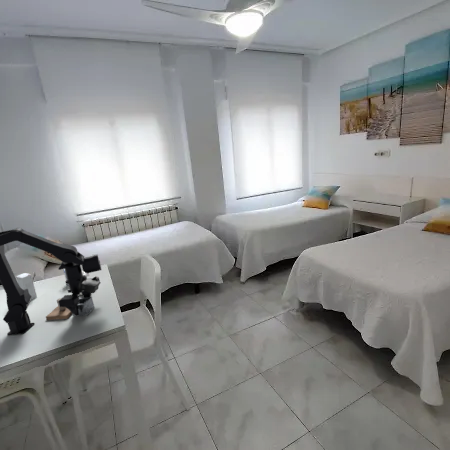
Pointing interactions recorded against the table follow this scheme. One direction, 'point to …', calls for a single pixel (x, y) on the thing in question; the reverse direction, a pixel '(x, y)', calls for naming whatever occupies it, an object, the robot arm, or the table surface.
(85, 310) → the grey square sleeve
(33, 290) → the skincare box
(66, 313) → the post stand
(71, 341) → the table surface
